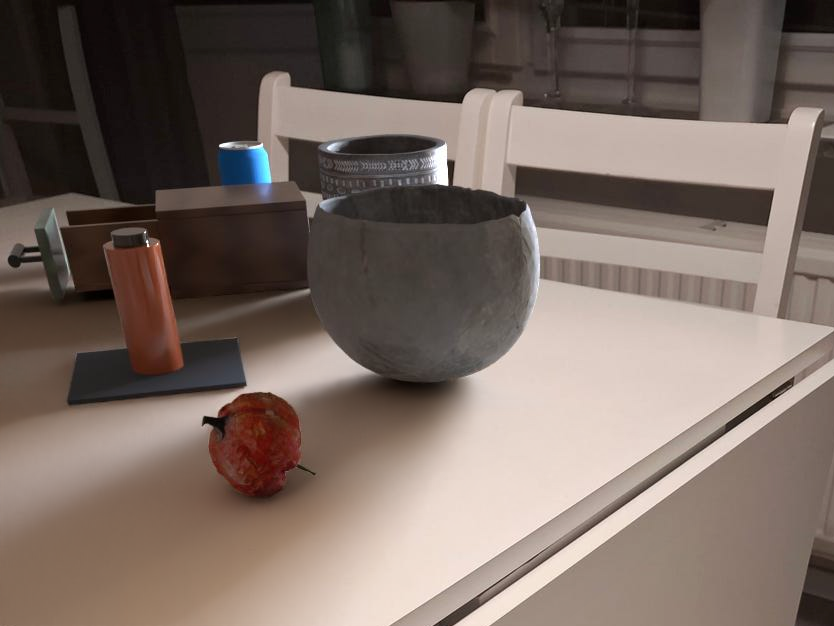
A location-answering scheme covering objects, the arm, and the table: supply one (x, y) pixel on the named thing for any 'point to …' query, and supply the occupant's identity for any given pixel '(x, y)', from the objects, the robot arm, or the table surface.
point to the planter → (380, 163)
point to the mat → (115, 379)
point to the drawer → (82, 245)
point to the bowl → (423, 278)
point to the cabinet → (234, 238)
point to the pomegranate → (255, 443)
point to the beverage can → (243, 163)
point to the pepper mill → (143, 301)
